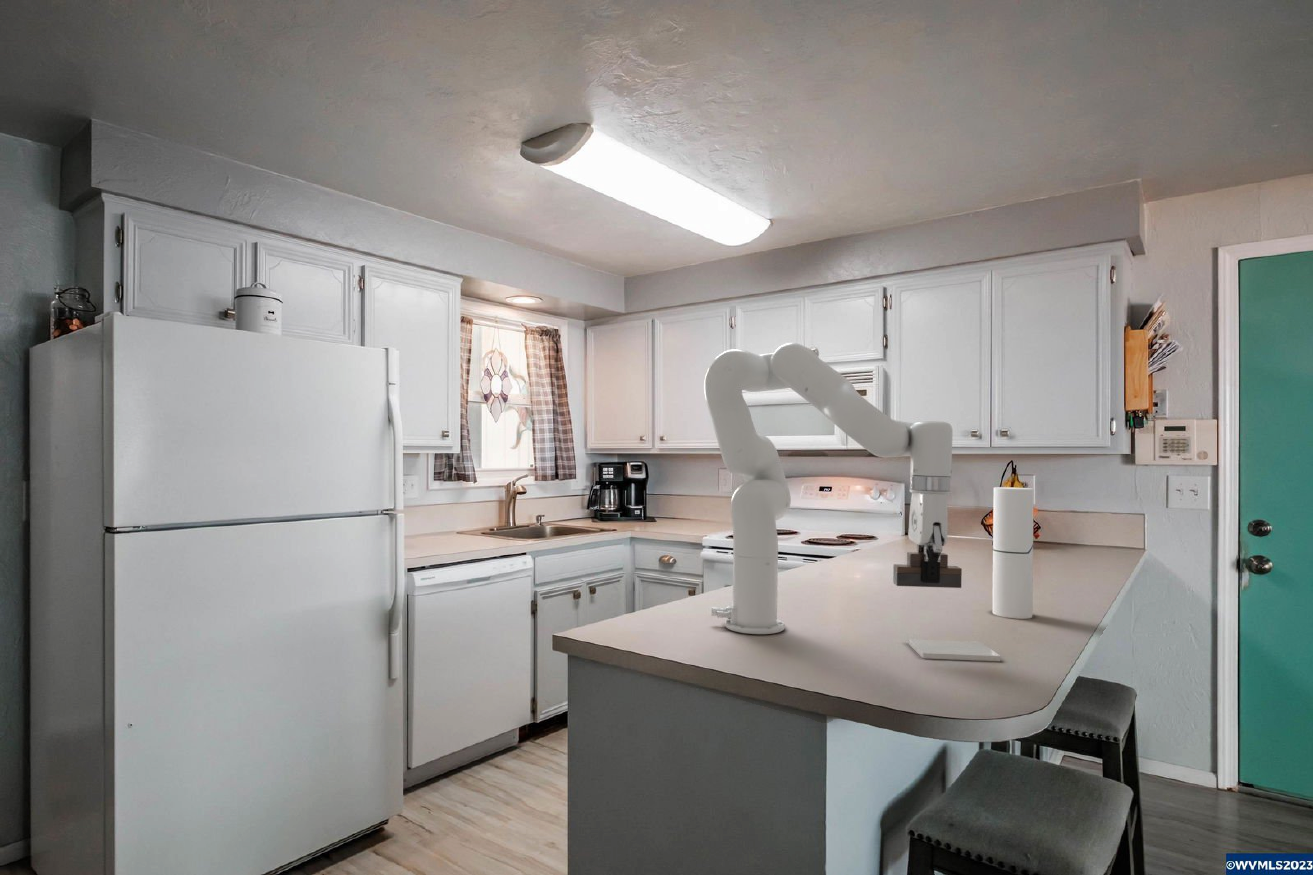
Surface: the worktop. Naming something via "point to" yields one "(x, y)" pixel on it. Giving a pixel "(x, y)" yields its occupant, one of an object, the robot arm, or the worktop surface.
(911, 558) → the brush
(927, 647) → the tile
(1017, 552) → the container
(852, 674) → the worktop surface
